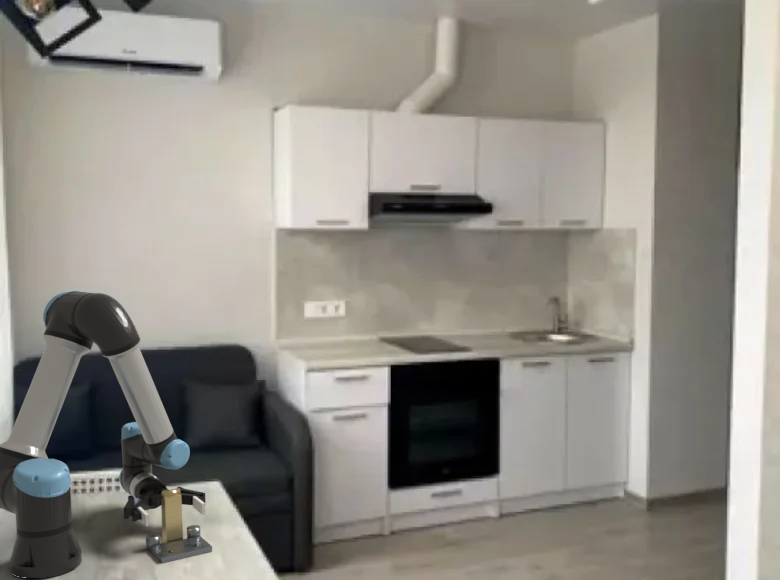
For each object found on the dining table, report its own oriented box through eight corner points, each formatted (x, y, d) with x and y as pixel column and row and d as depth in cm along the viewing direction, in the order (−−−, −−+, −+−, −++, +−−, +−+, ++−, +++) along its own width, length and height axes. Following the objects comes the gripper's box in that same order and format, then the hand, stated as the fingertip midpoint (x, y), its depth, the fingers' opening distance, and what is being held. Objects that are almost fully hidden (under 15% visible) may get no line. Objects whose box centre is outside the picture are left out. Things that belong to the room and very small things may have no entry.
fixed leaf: (159, 563, 192) (158, 550, 192) (144, 547, 201) (143, 535, 201) (214, 550, 199) (214, 538, 199) (197, 536, 209) (197, 524, 208)
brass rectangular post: (166, 547, 202) (164, 492, 201) (162, 543, 204) (160, 489, 203) (183, 543, 204) (181, 489, 203) (178, 539, 207) (177, 486, 205)
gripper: (196, 496, 226) (226, 519, 208) (99, 514, 212) (123, 541, 194) (195, 468, 225) (225, 489, 207) (98, 485, 212) (122, 509, 194)
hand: (176, 514), depth 201 cm, fingers open, 13 cm apart
